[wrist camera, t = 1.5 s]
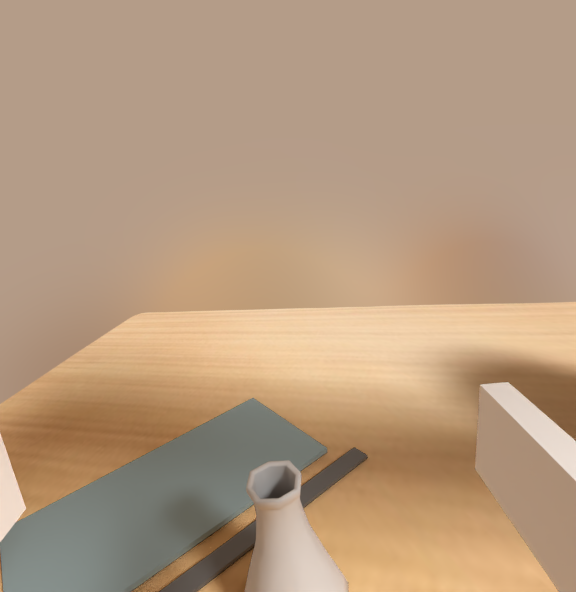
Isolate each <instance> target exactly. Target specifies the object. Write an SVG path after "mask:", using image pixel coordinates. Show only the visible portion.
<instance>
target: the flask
mask: <svg viewBox="0 0 576 592" xmlns="http://www.w3.org/2000/svg"><path fill="white" fill-rule="evenodd" d="M301 477H302V475H301V472H300V471H299V470H298V469H297V468H296V467H295V466H294V465H293V464H292V463H291V462H290V461H289V460H288V461H268V462H266V463H265V464H263V465H261V466H259V467H257V468H255V469H253V470H251V471H250V473H249V477H248V482H247V486H246V492H247V494H248V495H249V497H250V498H251V500H252V501H253V502H254V505H255V510H256V541H255V546H254V550H253V554H252V558H251V562H250V566H249V571H248V576H247V581H246V587H245V592H349V590H348V582H347V580H346V578H345V577H344V575H343V574H342V572H341V571H340V569H339V568H338V567H337V565H336V564H335V562H334V561H333V559H332V558H331V557H330V555H329V554H328V552H327V551H326V549H325V548H324V546H323V545H322V543H321V541H320V540H319V538H318V537H317V535H316V534H315V532H314V530H313V529H312V527H311V526H310V524H309V522H308V519H307V517H306V514H305V512H304V509H303V507H302V504H301V501H300V490H301Z"/></svg>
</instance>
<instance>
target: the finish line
mask: <svg viewBox="0 0 576 592" xmlns="http://www.w3.org/2000/svg"><path fill="white" fill-rule="evenodd" d="M365 459H367V455H366V454H365V453H363V452H361V451H360V450H358V449H356V448H355V447H354V448H352V449H351V450H350V451H348V452H347V453H346V454H344V455H343V456H342V457H340V458H339V459H338V460H336V461H335V462H334V463H332V464H331V465H330V466H328V467H327V468H325V469H324V470H323V471H321V472H320V473H319V474H317V475H316V476H315V477H313V478H312V479H311V480H309V481H308V482H307V483H305V484H304V485H303V486H301V490H300V501H301V504H302V507H303V508H304V507H305V506H307V505H308V504H309V503H310V502H312V501H313V500H314V499H316V498H317V497H318V496H319V495H321V494H322V493H323V492H324V491H326V490H327V489H328V488H330V487H331V486H332V485H333V484H335V483H336V482H337V481H339V480H340V479H341V478H342V477H344V476H345V475H346V474H347V473H349V472H350V471H351V470H353V469H354V468H355V467H356V466H358V465H359V464H360V463H361V462H363V461H364V460H365ZM255 541H256V520H255V521H254V522H253V523H251V524H250V525H249V526H247V527H246V528H244V529H243V530H242V531H240V532H239V533H238V534H236V535H235V536H234V537H232V538H231V539H230V540H228V541H227V542H226V543H224V544H223V545H222V546H220V547H219V548H217V549H216V550H215V551H213V552H212V553H211V554H209V555H208V556H207V557H205V558H204V559H203V560H201V561H200V562H199V563H197V564H196V565H195V566H193V567H192V568H190V569H189V570H188V571H186V572H185V573H184V574H182V575H181V576H180V577H178V578H177V579H176V580H174V581H173V582H172V583H170V584H169V585H167V586H166V587H165V588H163V589H162V590H161V591H159V592H197V591H198V590H200V589H201V588H202V587H203V586H205V585H206V584H207V583H208V582H210V581H211V580H212V579H214V578H215V577H216V576H217V575H219V574H220V573H221V572H222V571H224V570H225V569H226V568H228V567H229V566H230V565H231V564H233V563H234V562H235V561H236V560H238V559H239V558H240V557H242V556H243V555H244V554H245V553H247V552H248V551H249V550H251V549H252V548H253V547H254V546H255Z"/></svg>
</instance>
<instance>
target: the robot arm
mask: <svg viewBox="0 0 576 592" xmlns="http://www.w3.org/2000/svg"><path fill="white" fill-rule="evenodd" d="M475 470H476V471H477V473H478V474H479V476H480V477H481V479H482V480H483V481H484V483H485V484H486V486H487V487H488V489H489V490H490V492H491V493H492V495H493V496H494V498H495V499H496V500H497V502H498V503H499V505H500V506H501V508H502V509H503V511H504V512H505V514H506V515H507V517H508V518H509V519H510V521H511V522H512V524H513V525H514V527H515V528H516V530H517V531H518V533H519V534H520V536H521V537H522V538H523V540H524V541H525V543H526V544H527V546H528V547H529V549H530V550H531V552H532V553H533V555H534V556H535V557H536V559H537V560H538V562H539V563H540V565H541V566H542V568H543V569H544V571H545V572H546V574H547V575H548V576H549V578H550V579H551V581H552V582H553V584H554V585H555V587H556V588H557V590H558V591H559V592H576V441H575V440H574V439H573V438H572V437H571V436H569V435H568V434H567V433H566V432H565V431H564V430H563V429H561V428H560V427H559V426H558V425H557V424H556V423H555V422H553V421H552V420H551V419H550V418H549V417H548V416H546V415H545V414H544V413H543V412H542V411H541V410H540V409H538V408H537V407H536V406H535V405H534V404H533V403H532V402H530V401H529V400H528V399H527V398H526V397H525V396H524V395H522V394H521V393H520V392H519V391H518V390H517V389H516V388H514V387H513V386H512V385H511V384H510V383H509V382H503V383H491V384H480V392H479V409H478V426H477V443H476V460H475ZM25 510H26V507H25V504H24V501H23V498H22V495H21V492H20V489H19V486H18V483H17V481H16V478H15V475H14V472H13V469H12V466H11V463H10V460H9V457H8V454H7V451H6V448H5V445H4V442H3V439H2V437H1V434H0V542H1V541H2V539H3V538H4V537H5V535H6V534H7V533H8V532H9V530H10V529H11V528H12V526H13V525H14V524H15V523H16V521H17V520H18V519H19V517H20V516H21V515H22V513H23V512H24V511H25Z"/></svg>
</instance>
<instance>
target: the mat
mask: <svg viewBox="0 0 576 592" xmlns="http://www.w3.org/2000/svg"><path fill="white" fill-rule="evenodd" d="M325 453H327V448H326V447H325V446H324V445H322V444H321V443H319V442H318V441H316V440H315V439H313V438H312V437H310V436H309V435H307V434H306V433H304V432H303V431H301V430H300V429H298V428H297V427H295V426H294V425H292V424H291V423H289V422H288V421H286V420H285V419H283V418H282V417H281V416H279V415H278V414H276V413H275V412H273V411H272V410H270V409H269V408H267V407H266V406H264V405H263V404H261V403H260V402H258V401H257V400H255V399H254V398H252V399H250V400H248V401H246V402H244V403H242V404H240V405H238V406H236V407H235V408H233V409H231V410H229V411H227V412H225V413H223V414H221V415H219V416H217V417H216V418H214V419H212V420H210V421H208V422H206V423H204V424H202V425H200V426H198V427H197V428H195V429H193V430H191V431H189V432H187V433H185V434H183V435H181V436H179V437H178V438H176V439H174V440H172V441H170V442H168V443H166V444H164V445H162V446H160V447H159V448H157V449H155V450H153V451H151V452H149V453H147V454H145V455H143V456H141V457H140V458H138V459H136V460H134V461H132V462H130V463H128V464H126V465H124V466H122V467H121V468H119V469H117V470H115V471H113V472H111V473H109V474H107V475H105V476H103V477H101V478H100V479H98V480H96V481H94V482H92V483H90V484H88V485H86V486H84V487H82V488H81V489H79V490H77V491H75V492H73V493H71V494H69V495H67V496H65V497H63V498H62V499H60V500H58V501H56V502H54V503H52V504H50V505H48V506H46V507H44V508H43V509H41V510H39V511H37V512H35V513H33V514H31V515H29V516H27V517H25V518H24V519H22V520H20V521H18V522H16V523H15V524H14V525H13V526H12V528H11V529H10V530H9V532H8V533H7V534H6V535H5V537H4V538H3V539H2V541H1V542H0V554H1V568H2V581H3V592H131V591H132V590H134V589H135V588H137V587H138V586H139V585H141V584H142V583H144V582H145V581H146V580H148V579H149V578H151V577H152V576H153V575H155V574H156V573H158V572H159V571H160V570H162V569H163V568H165V567H166V566H168V565H169V564H170V563H172V562H173V561H175V560H176V559H177V558H179V557H180V556H182V555H183V554H184V553H186V552H187V551H189V550H190V549H191V548H193V547H194V546H196V545H197V544H198V543H200V542H201V541H203V540H204V539H206V538H207V537H208V536H210V535H211V534H213V533H214V532H215V531H217V530H218V529H220V528H221V527H222V526H224V525H225V524H227V523H228V522H229V521H231V520H232V519H234V518H235V517H236V516H238V515H239V514H241V513H242V512H244V511H245V510H246V509H248V508H249V507H251V506H252V505H253V504H254V502H253V501H252V500H251V498H250V497H249V495H248V494H247V492H246V486H247V482H248V477H249V473H250V471H251V470H253V469H255V468H257V467H259V466H261V465H263V464H265V463H266V462H268V461H288V460H289V461H290V462H291V463H292V464H293V465H294V466H295V467H296V468H297V469H298V470H299V471H301V470H303V469H304V468H305V467H307V466H308V465H310V464H311V463H312V462H314V461H315V460H317V459H318V458H320V457H321V456H322V455H324V454H325Z"/></svg>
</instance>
